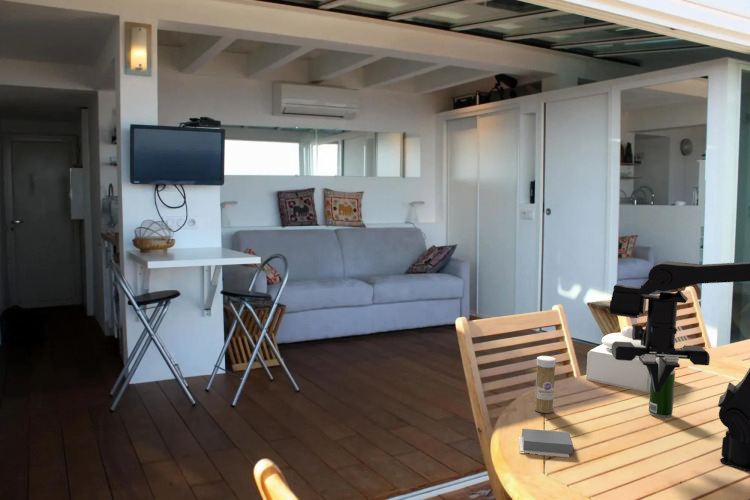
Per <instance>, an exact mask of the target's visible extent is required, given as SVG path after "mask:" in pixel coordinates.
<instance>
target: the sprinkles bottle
mask: <svg viewBox="0 0 750 500" xmlns="http://www.w3.org/2000/svg"><path fill="white" fill-rule="evenodd" d="M556 364H557V359H556V358H555V357H553V356H549V355H539V356H537V357H536V377H535V394H534V396H535V402H534V404H535V406H534V411H536V412H537V413H542V414H550V413H551V414H552V413H553V411H554V397H555V380H556V379H555V369H556V367H557V365H556Z"/></svg>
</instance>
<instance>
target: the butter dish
mask: <svg viewBox="0 0 750 500" xmlns="http://www.w3.org/2000/svg"><path fill="white" fill-rule="evenodd" d="M632 329H633V326H630V325H628V326H624V327H623V328H621V330H620V332H612V333H608V334H606V335H604V336H603V337H602V338H601V343H602V344H600V345H598V346H596V347H594V348H592V349H590V350H589V351H587V356H586V357H587V359H586V373H585V374H586V375H587V376H586V375H585V379H588V380H587V381H592V382H596V383H600V384H605V385H610V386H615V387H619V388H624V389H629V390H634V391H637V392H638V391H639V392H643V393H647V394H648V393H649V394H650V382H651V378H650V374H649V371H648V369H647V366H646V365H643V364H642V362H641V361H640V360H639V356H636V357H635V358H634V359H633V360H632V361H627V360H617V359H615V358H614V356H613V355H612V353H611V351H612V344H613V343H614V342H615V341H616V342H631V343H632V344H633V345H634V347H644V348H645V346H643V345H641V340H633V339H632ZM650 353H656V352H650ZM656 362H657V363H658V364H659V357H656Z"/></svg>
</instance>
